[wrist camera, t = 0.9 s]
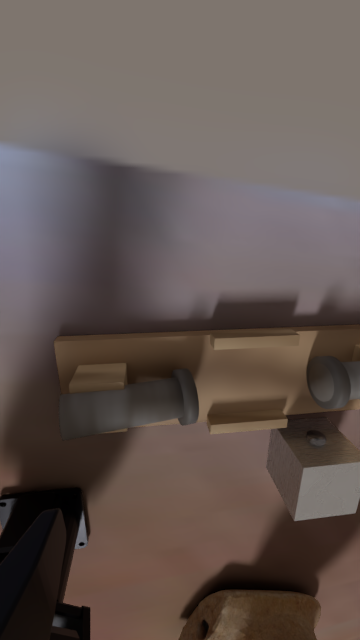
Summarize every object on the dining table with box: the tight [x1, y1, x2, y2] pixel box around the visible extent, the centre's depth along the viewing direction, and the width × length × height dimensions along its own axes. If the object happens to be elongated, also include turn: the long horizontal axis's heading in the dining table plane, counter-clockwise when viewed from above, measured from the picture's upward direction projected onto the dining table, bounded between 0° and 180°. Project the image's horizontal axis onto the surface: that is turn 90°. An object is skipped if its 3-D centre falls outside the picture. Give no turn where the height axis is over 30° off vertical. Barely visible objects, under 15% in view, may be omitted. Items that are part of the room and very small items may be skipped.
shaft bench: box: [54, 324, 360, 441], centre depth 19 cm, size 8×27×5 cm, turn 90°
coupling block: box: [266, 417, 360, 521], centre depth 22 cm, size 6×5×5 cm
